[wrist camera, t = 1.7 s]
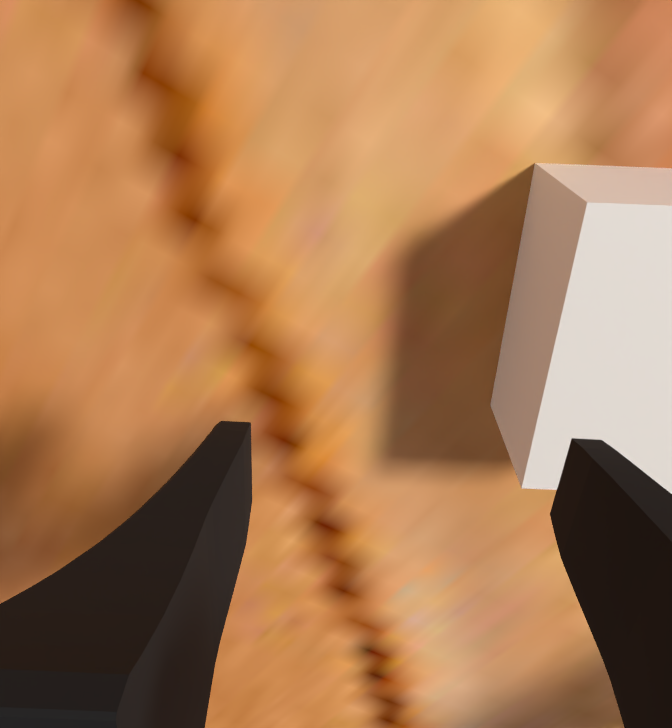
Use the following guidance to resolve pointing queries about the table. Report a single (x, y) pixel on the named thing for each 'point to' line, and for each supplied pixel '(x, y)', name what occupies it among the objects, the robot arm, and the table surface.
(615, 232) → the block
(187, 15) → the table surface
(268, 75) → the table surface
